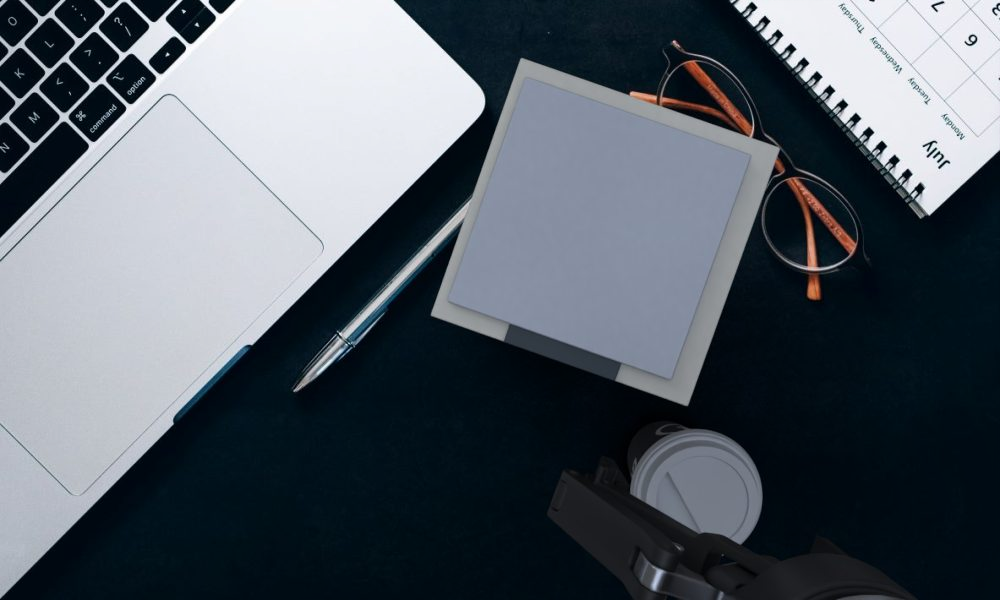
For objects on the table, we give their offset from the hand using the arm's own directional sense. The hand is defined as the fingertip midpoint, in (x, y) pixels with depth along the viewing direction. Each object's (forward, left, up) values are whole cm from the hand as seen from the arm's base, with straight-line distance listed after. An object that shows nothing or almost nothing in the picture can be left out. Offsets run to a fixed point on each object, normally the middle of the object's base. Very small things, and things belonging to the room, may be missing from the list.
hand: (706, 518), depth 48 cm
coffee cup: (-1, -2, -24) cm, 24 cm away
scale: (+13, +12, +4) cm, 18 cm away
